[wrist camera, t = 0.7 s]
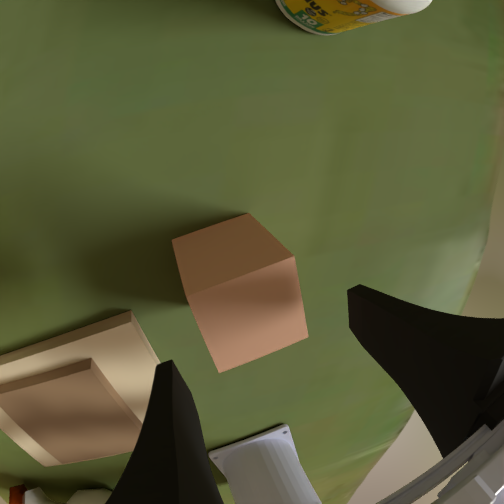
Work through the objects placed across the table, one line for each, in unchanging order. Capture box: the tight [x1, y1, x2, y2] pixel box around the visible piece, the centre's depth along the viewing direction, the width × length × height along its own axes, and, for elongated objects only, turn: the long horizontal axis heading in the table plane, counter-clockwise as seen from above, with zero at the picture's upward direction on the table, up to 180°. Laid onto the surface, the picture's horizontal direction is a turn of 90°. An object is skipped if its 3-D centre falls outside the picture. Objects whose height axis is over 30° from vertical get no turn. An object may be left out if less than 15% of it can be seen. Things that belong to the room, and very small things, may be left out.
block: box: [172, 213, 308, 373], centre depth 16 cm, size 4×4×6 cm
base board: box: [0, 310, 160, 467], centre depth 18 cm, size 12×16×2 cm
